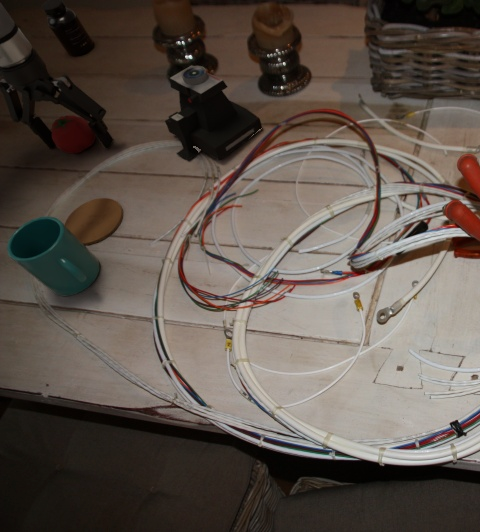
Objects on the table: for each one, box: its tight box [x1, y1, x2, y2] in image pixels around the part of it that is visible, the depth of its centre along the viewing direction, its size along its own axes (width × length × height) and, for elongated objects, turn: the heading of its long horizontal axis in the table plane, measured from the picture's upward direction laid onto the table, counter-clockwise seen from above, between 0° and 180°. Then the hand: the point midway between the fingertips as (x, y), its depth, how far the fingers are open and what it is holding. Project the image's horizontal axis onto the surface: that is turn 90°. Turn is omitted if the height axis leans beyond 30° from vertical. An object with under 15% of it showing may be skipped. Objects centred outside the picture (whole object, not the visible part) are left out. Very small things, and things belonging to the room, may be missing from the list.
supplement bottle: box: [41, 0, 94, 57], centre depth 133 cm, size 7×7×12 cm
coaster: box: [64, 197, 124, 246], centre depth 103 cm, size 11×11×1 cm
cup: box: [6, 216, 100, 297], centre depth 91 cm, size 9×12×11 cm
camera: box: [164, 64, 263, 161], centre depth 109 cm, size 16×14×15 cm
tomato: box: [51, 114, 96, 155], centre depth 114 cm, size 8×8×7 cm
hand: (81, 144), depth 117 cm, fingers open, 12 cm apart
